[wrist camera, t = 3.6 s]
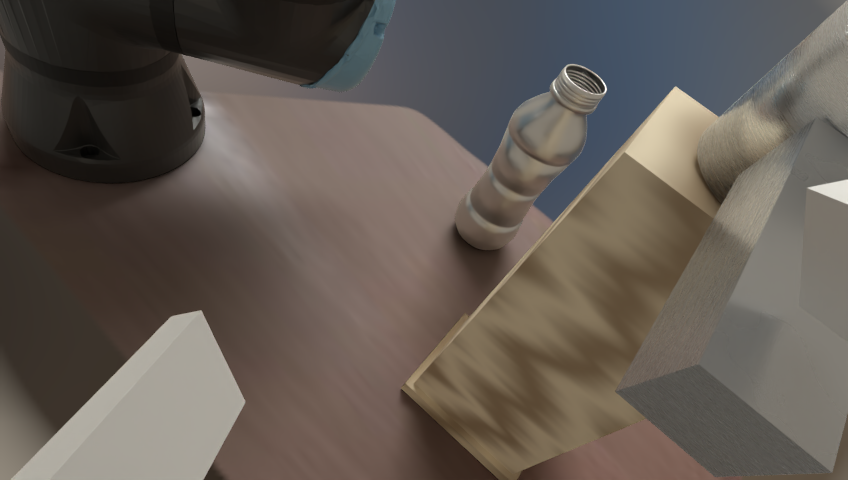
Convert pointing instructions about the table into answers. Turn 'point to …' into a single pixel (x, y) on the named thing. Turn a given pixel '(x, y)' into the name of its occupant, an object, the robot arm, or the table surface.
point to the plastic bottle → (529, 158)
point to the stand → (575, 305)
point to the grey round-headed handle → (757, 284)
